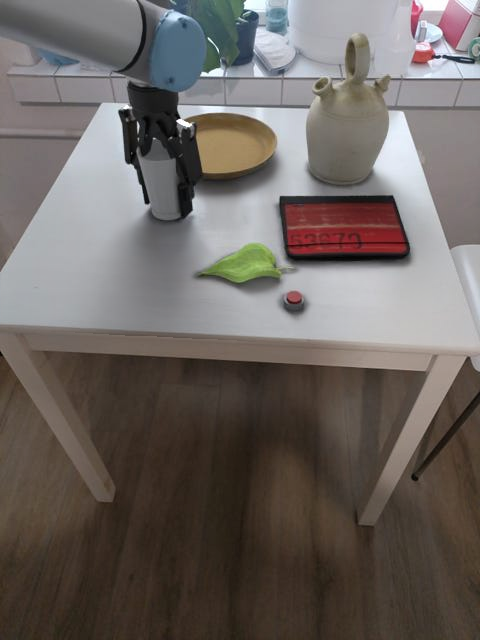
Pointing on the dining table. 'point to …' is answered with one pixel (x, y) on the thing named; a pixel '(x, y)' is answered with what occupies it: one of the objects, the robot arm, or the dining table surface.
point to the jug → (347, 120)
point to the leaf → (247, 264)
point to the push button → (293, 300)
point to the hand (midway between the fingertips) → (168, 206)
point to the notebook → (342, 228)
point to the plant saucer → (232, 144)
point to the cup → (161, 181)
